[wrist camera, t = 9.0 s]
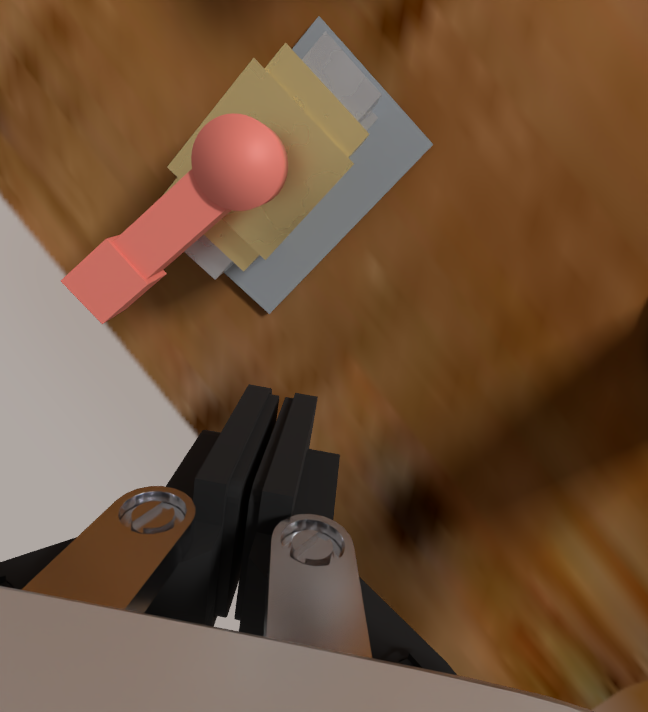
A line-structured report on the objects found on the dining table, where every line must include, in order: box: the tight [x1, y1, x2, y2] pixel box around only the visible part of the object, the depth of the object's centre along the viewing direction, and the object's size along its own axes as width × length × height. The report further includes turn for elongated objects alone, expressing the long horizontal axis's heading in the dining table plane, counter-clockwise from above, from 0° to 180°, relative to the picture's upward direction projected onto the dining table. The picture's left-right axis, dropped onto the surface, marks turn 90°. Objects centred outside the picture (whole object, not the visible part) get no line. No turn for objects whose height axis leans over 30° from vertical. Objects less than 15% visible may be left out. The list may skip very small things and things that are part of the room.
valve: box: [163, 31, 382, 280], centre depth 24 cm, size 12×6×10 cm, turn 136°
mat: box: [224, 17, 433, 314], centre depth 29 cm, size 14×9×1 cm, turn 136°
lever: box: [61, 113, 288, 324], centre depth 19 cm, size 3×10×2 cm, turn 128°
